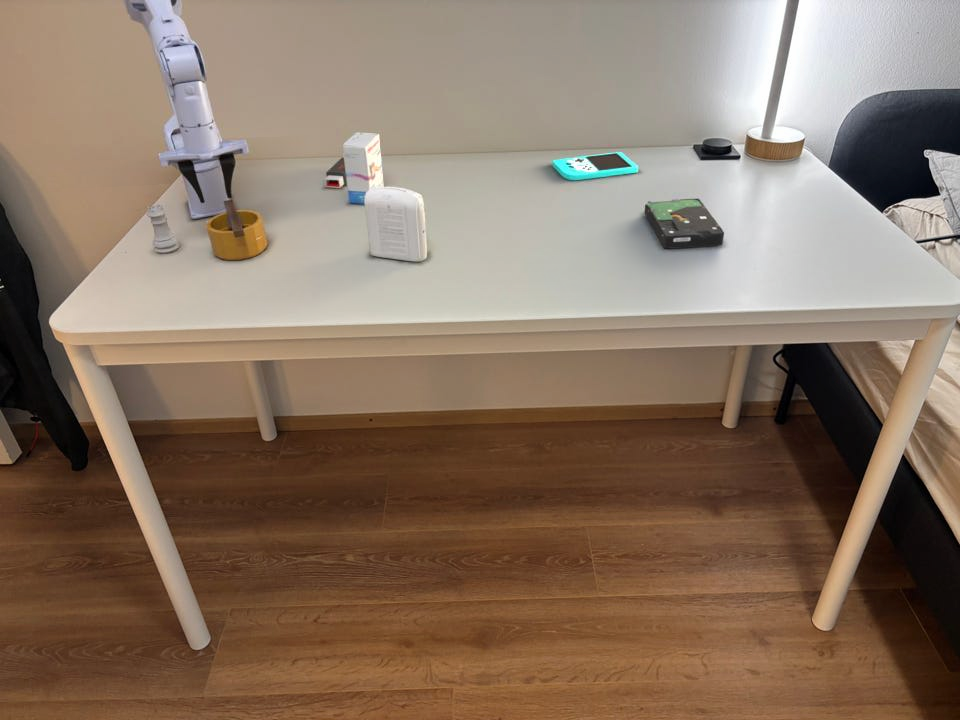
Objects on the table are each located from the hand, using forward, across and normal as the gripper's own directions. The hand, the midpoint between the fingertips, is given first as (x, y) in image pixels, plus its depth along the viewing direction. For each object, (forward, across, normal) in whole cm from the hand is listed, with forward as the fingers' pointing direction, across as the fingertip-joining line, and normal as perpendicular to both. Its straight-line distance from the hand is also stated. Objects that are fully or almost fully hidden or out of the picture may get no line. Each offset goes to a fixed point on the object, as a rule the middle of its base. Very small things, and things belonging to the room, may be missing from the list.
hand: (215, 198), depth 132 cm
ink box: (+8, +29, +7) cm, 31 cm away
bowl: (+8, +2, -6) cm, 10 cm away
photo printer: (+8, +27, -21) cm, 35 cm away
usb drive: (+8, +27, +19) cm, 34 cm away
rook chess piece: (+8, -10, 0) cm, 13 cm away
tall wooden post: (+6, +2, -6) cm, 9 cm away
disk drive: (+8, +76, -34) cm, 84 cm away
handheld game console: (+8, +77, -1) cm, 77 cm away
